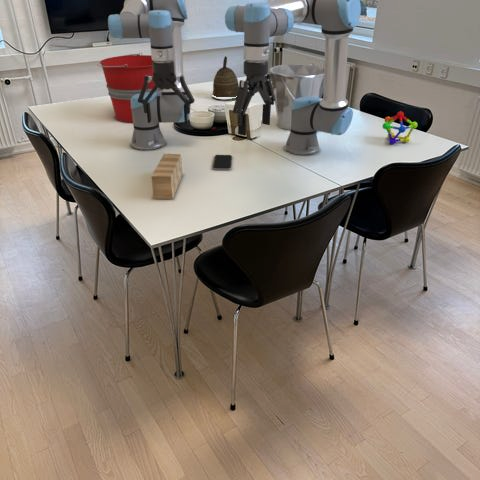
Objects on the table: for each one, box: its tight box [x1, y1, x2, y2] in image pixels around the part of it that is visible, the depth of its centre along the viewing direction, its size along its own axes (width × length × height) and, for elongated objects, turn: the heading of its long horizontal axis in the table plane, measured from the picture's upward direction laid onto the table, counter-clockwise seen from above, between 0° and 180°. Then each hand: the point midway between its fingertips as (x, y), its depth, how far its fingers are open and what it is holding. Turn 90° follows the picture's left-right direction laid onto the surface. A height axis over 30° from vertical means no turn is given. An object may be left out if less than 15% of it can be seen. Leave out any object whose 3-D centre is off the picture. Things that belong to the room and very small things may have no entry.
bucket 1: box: [96, 52, 163, 124], centre depth 238 cm, size 35×35×30 cm
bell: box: [212, 56, 239, 97], centre depth 278 cm, size 19×26×20 cm
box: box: [151, 153, 183, 200], centre depth 166 cm, size 22×7×9 cm, turn 177°
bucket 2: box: [269, 63, 324, 131], centre depth 226 cm, size 30×30×28 cm
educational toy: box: [382, 110, 418, 145], centre depth 207 cm, size 16×13×15 cm
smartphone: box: [212, 154, 233, 171], centre depth 188 cm, size 7×1×15 cm
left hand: (167, 122), depth 163 cm, fingers open, 13 cm apart
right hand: (254, 129), depth 145 cm, fingers open, 13 cm apart
